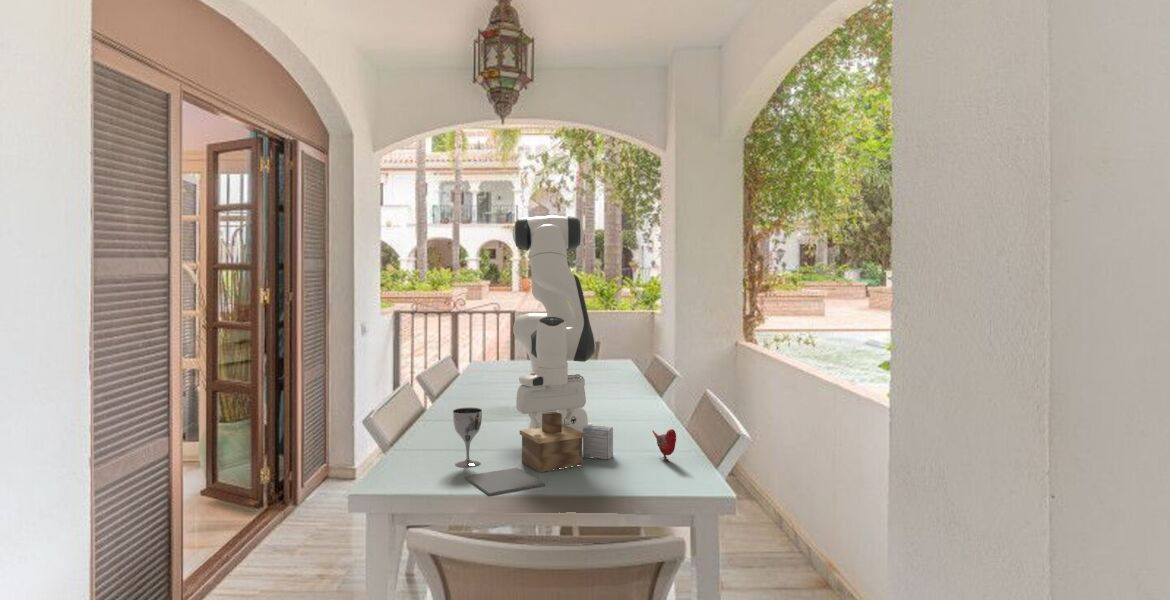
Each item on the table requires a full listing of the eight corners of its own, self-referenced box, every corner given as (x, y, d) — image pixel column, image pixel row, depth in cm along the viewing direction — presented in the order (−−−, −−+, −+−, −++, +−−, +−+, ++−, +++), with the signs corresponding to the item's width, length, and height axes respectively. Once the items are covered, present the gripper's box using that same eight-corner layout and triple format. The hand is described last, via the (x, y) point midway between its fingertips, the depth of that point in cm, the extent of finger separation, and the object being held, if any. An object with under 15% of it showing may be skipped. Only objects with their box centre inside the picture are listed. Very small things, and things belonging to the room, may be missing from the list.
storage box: (562, 456, 207) (562, 429, 207) (582, 465, 198) (582, 437, 197) (522, 462, 201) (522, 434, 200) (539, 472, 191) (539, 443, 191)
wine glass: (469, 469, 194) (468, 414, 193) (447, 465, 198) (446, 411, 197) (488, 462, 201) (487, 409, 200) (466, 458, 205) (466, 406, 204)
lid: (563, 431, 208) (563, 407, 207) (584, 440, 197) (584, 414, 197) (519, 437, 201) (519, 412, 200) (539, 447, 190) (538, 420, 190)
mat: (517, 469, 194) (517, 467, 194) (544, 485, 180) (544, 483, 180) (464, 478, 186) (464, 475, 186) (488, 495, 173) (488, 493, 173)
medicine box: (613, 456, 208) (613, 426, 207) (608, 460, 204) (609, 430, 203) (587, 453, 210) (587, 424, 210) (582, 457, 206) (582, 428, 206)
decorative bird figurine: (670, 467, 196) (670, 431, 196) (647, 451, 213) (647, 417, 213) (680, 467, 197) (680, 430, 196) (657, 450, 214) (657, 417, 213)
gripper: (578, 372, 206) (578, 419, 207) (513, 377, 196) (513, 428, 196) (590, 375, 201) (590, 424, 201) (523, 381, 190) (523, 432, 191)
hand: (551, 426), depth 199 cm, fingers open, 8 cm apart
